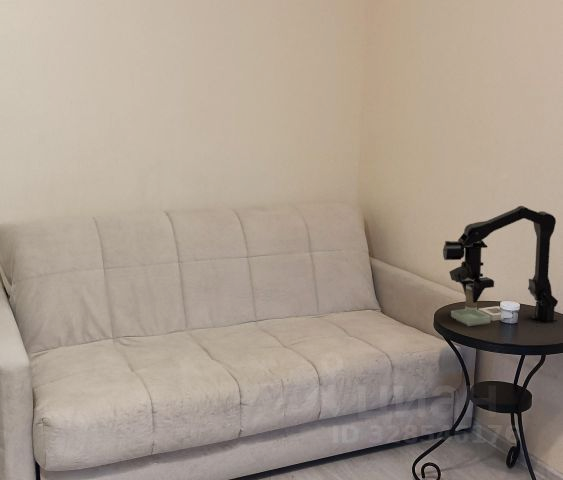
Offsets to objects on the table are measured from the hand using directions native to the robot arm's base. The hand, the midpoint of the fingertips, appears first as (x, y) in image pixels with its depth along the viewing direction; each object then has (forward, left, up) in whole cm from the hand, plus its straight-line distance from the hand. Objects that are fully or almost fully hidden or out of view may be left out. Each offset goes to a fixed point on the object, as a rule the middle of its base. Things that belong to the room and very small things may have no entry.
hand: (471, 301), depth 250 cm
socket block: (+1, -11, -7) cm, 14 cm away
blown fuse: (0, 0, -3) cm, 3 cm away
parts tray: (0, 0, -7) cm, 7 cm away
